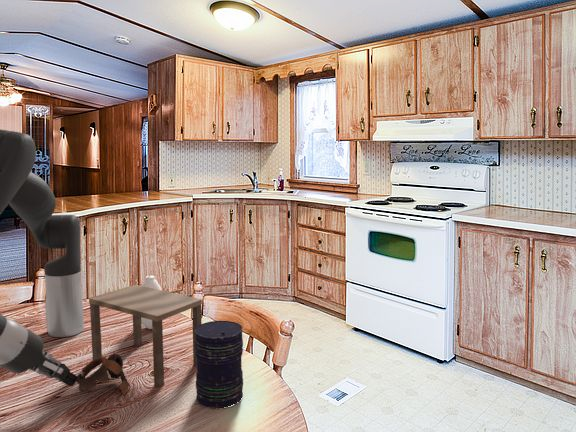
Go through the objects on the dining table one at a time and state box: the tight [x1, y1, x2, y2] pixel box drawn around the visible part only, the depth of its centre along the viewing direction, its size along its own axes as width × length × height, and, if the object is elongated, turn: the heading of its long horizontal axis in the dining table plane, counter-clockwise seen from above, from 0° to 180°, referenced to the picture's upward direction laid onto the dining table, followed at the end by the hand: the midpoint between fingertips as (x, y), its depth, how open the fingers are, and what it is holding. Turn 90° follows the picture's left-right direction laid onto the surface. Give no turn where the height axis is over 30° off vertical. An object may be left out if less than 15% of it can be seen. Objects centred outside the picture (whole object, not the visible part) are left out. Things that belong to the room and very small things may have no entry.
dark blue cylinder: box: [195, 320, 244, 410], centre depth 102 cm, size 10×10×15 cm
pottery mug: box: [75, 352, 130, 395], centre depth 106 cm, size 12×10×8 cm
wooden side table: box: [88, 284, 203, 388], centre depth 117 cm, size 23×14×16 cm, turn 58°
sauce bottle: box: [140, 267, 163, 330], centre depth 140 cm, size 8×8×18 cm
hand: (73, 381), depth 101 cm, fingers closed
